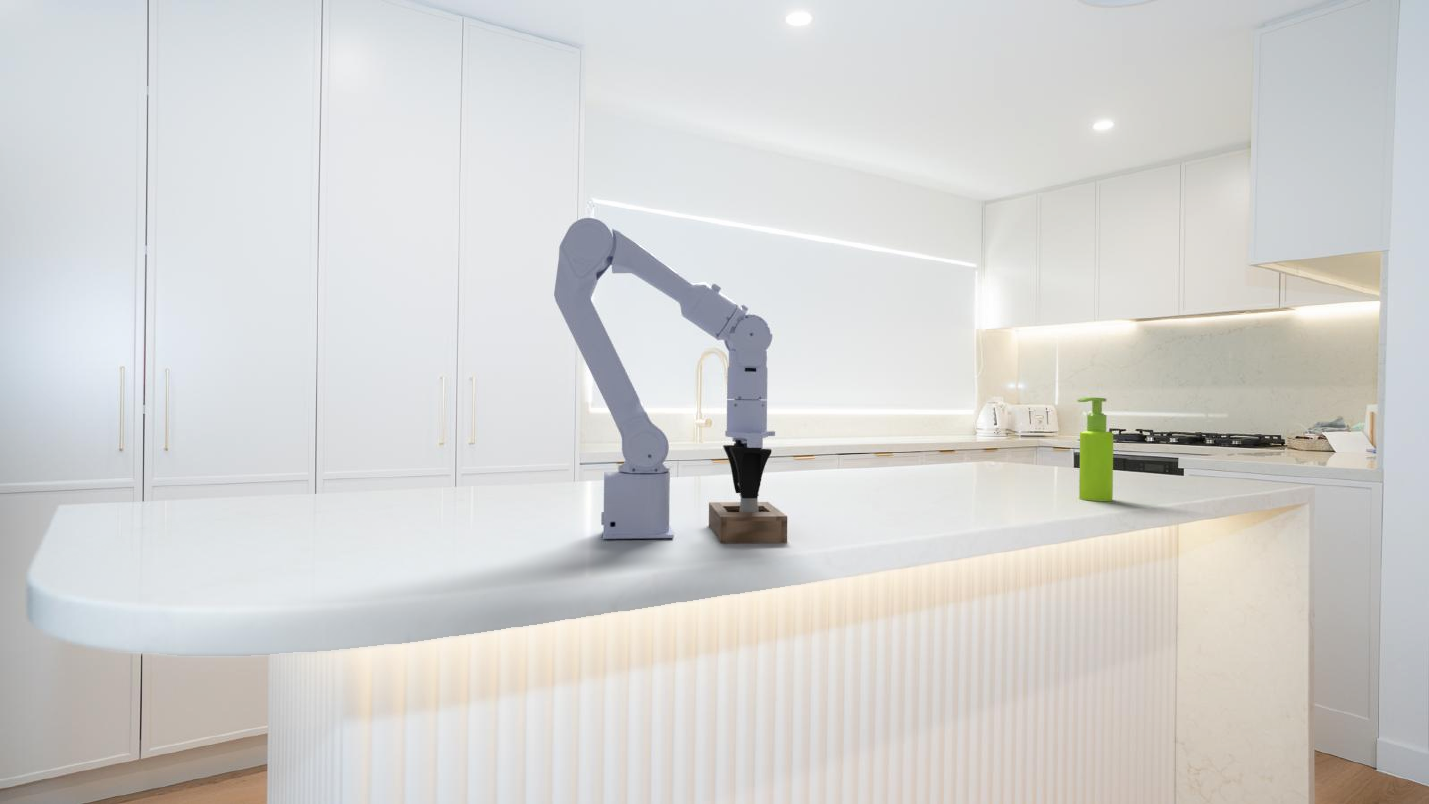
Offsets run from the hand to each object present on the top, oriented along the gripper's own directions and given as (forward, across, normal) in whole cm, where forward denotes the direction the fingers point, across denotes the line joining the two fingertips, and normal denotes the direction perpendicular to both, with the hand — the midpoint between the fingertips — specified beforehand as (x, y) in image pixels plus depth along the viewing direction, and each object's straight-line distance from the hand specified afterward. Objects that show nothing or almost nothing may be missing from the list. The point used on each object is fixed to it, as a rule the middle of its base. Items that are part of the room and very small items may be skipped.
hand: (746, 495), depth 110 cm
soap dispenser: (+6, +33, -74) cm, 82 cm away
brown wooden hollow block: (+5, 0, 0) cm, 5 cm away
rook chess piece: (+6, 0, 0) cm, 6 cm away
